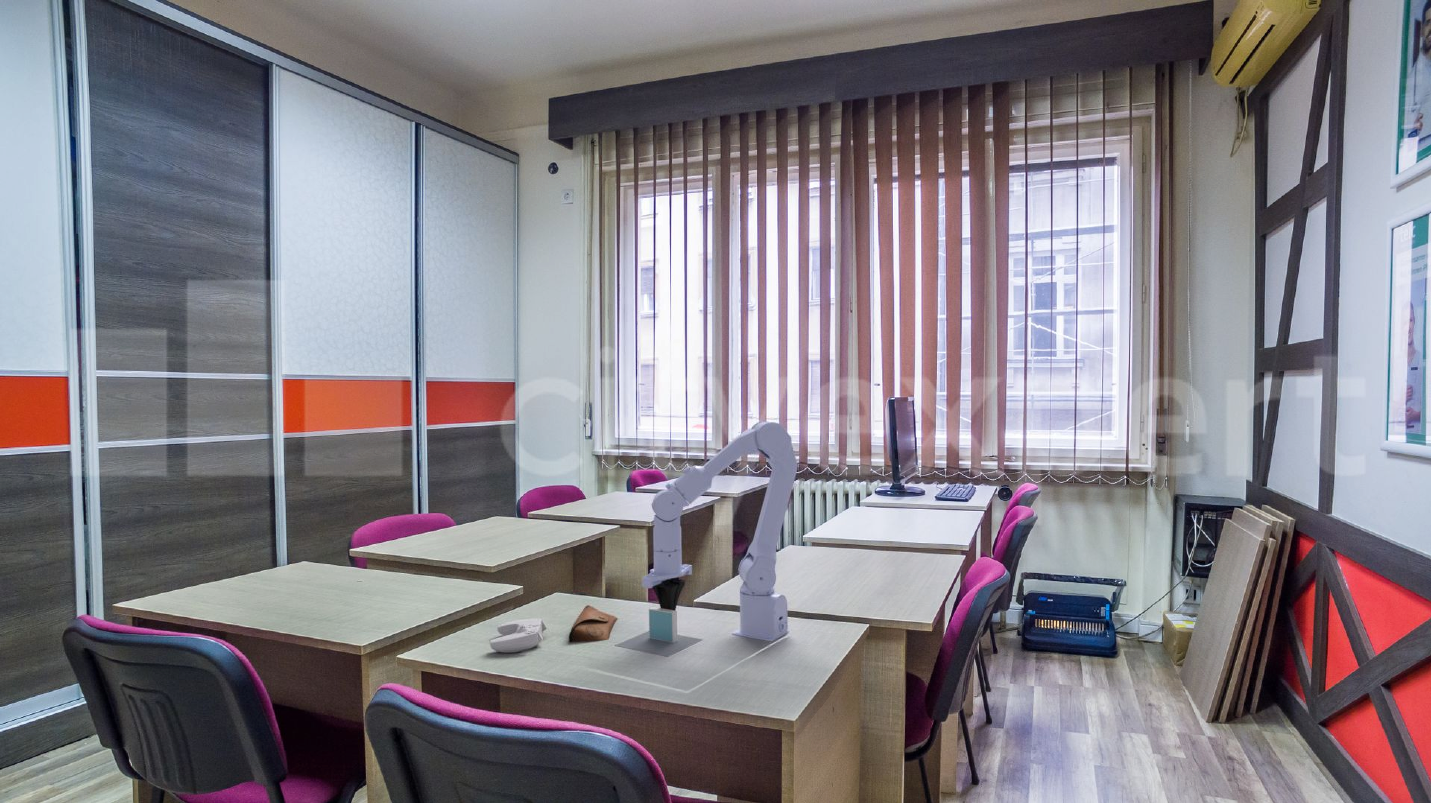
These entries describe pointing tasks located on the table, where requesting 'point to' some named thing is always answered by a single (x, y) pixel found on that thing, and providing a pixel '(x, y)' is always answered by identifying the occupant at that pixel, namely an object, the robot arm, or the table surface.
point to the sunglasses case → (592, 626)
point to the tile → (663, 624)
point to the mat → (658, 644)
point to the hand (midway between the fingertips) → (668, 616)
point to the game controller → (518, 635)
